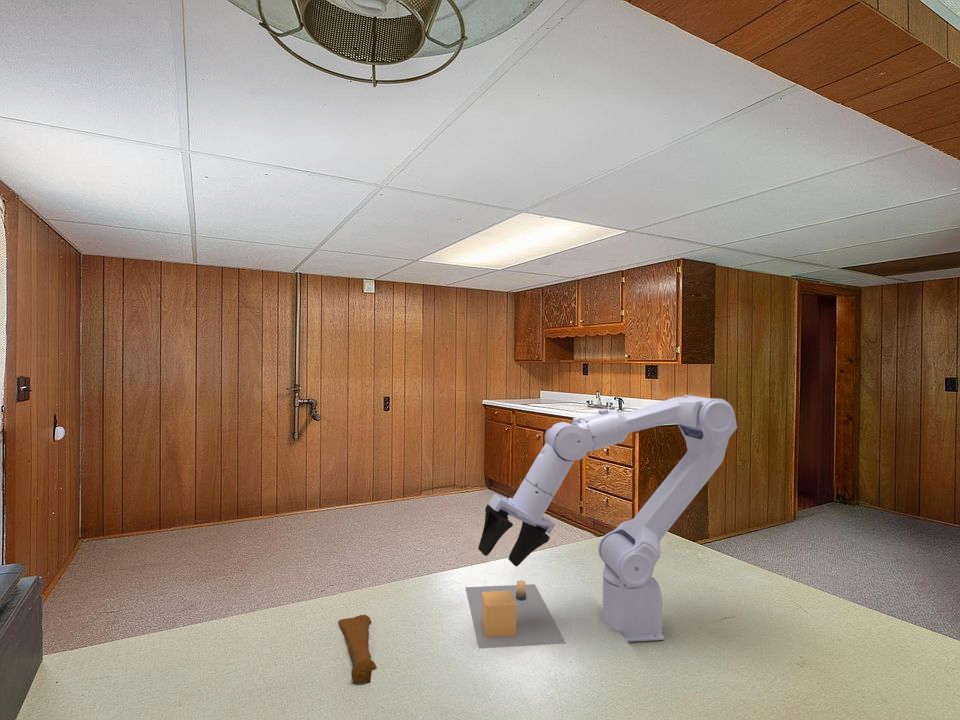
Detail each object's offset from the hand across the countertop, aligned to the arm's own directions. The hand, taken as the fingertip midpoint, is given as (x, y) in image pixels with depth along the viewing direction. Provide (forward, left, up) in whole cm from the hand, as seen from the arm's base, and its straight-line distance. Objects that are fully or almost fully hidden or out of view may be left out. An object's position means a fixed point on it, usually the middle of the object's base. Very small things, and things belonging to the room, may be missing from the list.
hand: (497, 557), depth 85 cm
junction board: (-3, -5, -13) cm, 15 cm away
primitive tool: (+23, 0, -14) cm, 27 cm away
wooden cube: (0, 0, -12) cm, 12 cm away
